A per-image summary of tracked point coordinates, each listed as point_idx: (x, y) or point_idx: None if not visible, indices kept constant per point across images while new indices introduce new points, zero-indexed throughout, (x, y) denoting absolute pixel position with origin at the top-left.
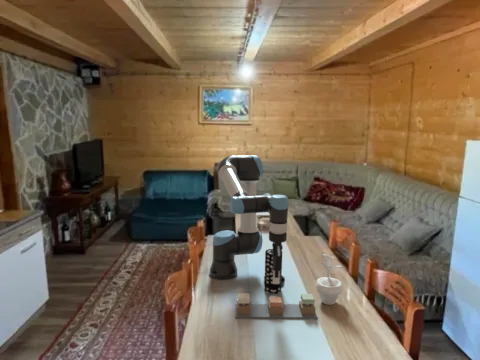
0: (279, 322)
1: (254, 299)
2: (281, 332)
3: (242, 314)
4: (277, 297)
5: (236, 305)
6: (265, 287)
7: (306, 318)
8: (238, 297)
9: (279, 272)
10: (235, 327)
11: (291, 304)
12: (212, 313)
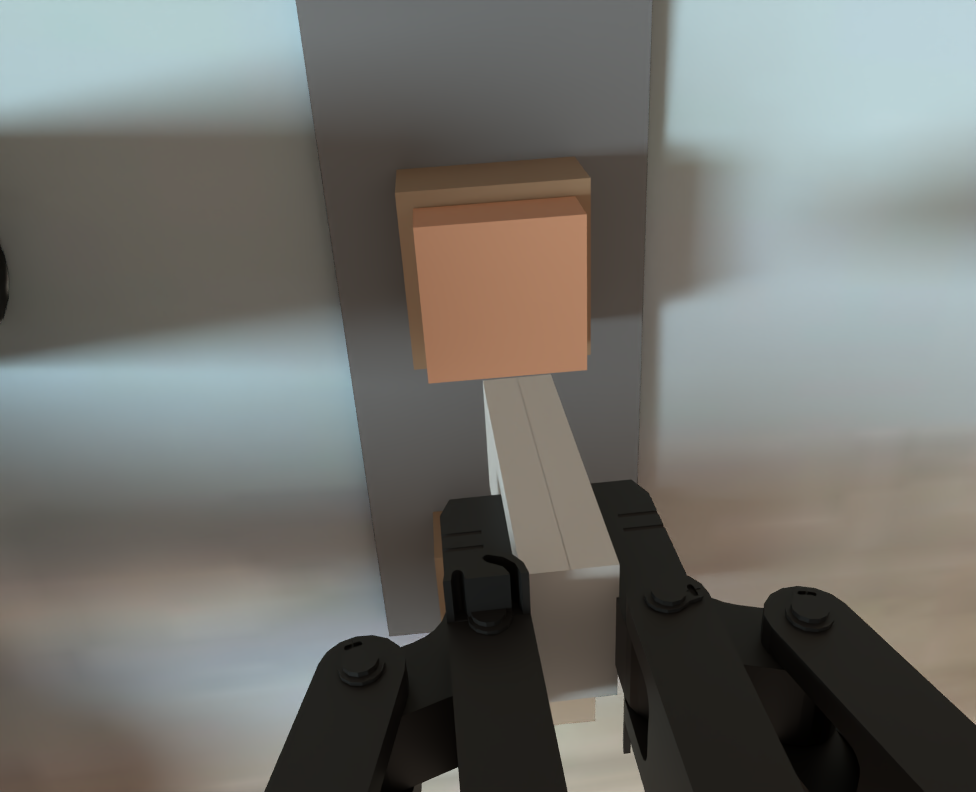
0: (715, 200)
1: (217, 469)
2: (911, 187)
3: None
4: (434, 275)
5: (419, 626)
6: None
7: None
8: (560, 721)
9: (601, 523)
10: (770, 587)
11: (301, 12)
12: None
